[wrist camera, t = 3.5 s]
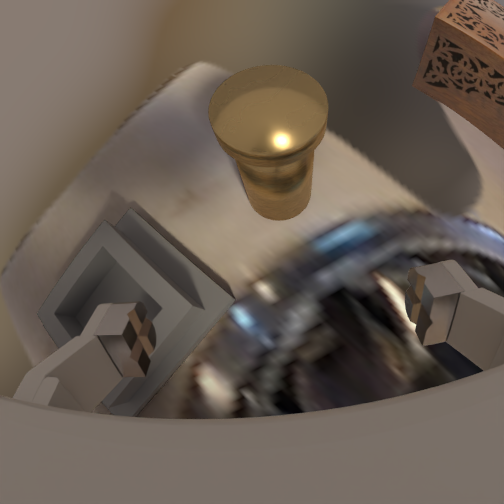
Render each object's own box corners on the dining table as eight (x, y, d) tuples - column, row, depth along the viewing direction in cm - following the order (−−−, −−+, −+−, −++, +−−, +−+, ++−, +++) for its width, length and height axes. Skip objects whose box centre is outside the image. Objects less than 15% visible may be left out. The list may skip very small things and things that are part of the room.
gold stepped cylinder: (286, 243, 25) (278, 175, 15) (225, 198, 27) (184, 117, 16) (333, 185, 26) (350, 95, 15) (273, 146, 28) (259, 52, 17)
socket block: (130, 423, 23) (104, 434, 19) (50, 326, 26) (21, 322, 22) (235, 299, 25) (224, 292, 20) (136, 212, 28) (113, 193, 24)
